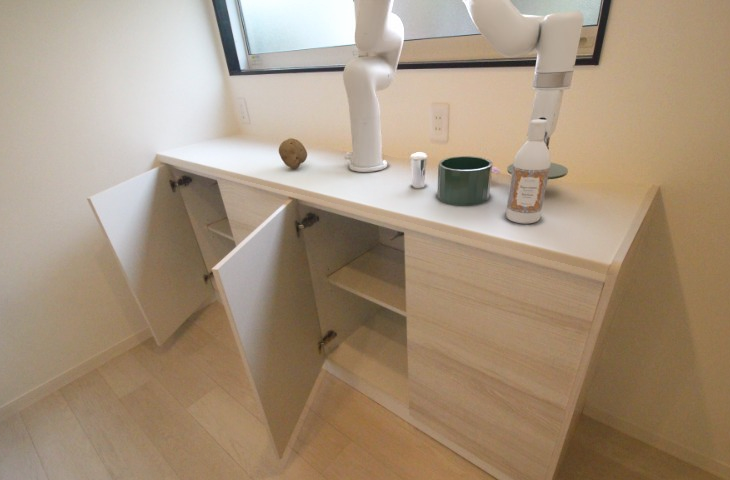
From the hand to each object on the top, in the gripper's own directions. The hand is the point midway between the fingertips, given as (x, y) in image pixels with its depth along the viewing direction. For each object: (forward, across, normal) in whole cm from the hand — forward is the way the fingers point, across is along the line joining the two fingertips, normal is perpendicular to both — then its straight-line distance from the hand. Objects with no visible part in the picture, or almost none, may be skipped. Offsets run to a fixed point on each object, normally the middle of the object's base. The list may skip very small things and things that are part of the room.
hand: (537, 164), depth 88 cm
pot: (+7, +9, -15) cm, 19 cm away
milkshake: (+7, +6, -29) cm, 31 cm away
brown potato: (+7, +4, -75) cm, 76 cm away
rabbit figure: (+7, -6, -17) cm, 19 cm away
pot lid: (+2, 0, 0) cm, 2 cm away
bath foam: (+7, +17, +1) cm, 18 cm away
